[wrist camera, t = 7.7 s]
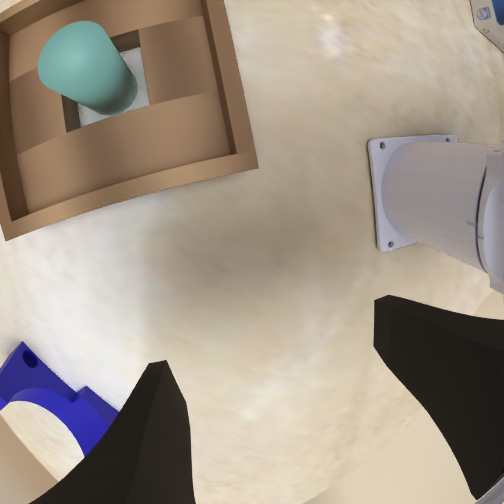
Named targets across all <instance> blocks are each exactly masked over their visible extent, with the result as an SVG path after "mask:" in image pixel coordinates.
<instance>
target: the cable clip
mask: <svg viewBox="0 0 504 504" xmlns="http://www.w3.org/2000/svg"><path fill="white" fill-rule="evenodd" d="M13 401H28V402H32V403H35V404H37V405H40V406H42V407H44V408H45V409H47V410H49V411H50V412H51V413H53V414H54V415H55V416H57V417H58V418H59V419H60V420H61V421H62V422H63V423H64V424H65V425H66V426H67V427H68V429H69V430H70V431H71V432H72V434H73V435H74V437H75V438H76V440H77V442H78V443H79V445H80V447H81V449H82V451H83V454H84V457H86V455H87V454H88V453H89V452H90V451H91V450H92V449H93V447H94V446H95V445H96V444H97V443H98V441H99V440H100V439H101V438H102V436H103V435H104V434H105V432H106V431H107V430H108V428H109V427H110V425H111V424H112V422H113V421H114V419H115V418H116V416H117V415H118V414H119V412H118V411H117V410H116V409H114V408H113V407H112V406H110V405H109V404H108V403H107V402H105V401H104V400H103V399H102V398H100V397H99V396H98V395H97V394H95V393H94V392H93V391H92V390H91V389H89V388H88V387H87V386H85V387H84V388H82V389H81V390H80V391H78V392H77V393H76V392H75V391H74V390H73V389H71V388H70V387H69V386H68V385H67V384H66V383H65V382H63V381H62V380H61V379H60V378H59V377H58V376H57V375H56V374H55V373H54V372H52V371H51V370H50V369H49V368H48V367H47V366H46V365H45V364H44V363H43V362H42V361H41V360H40V359H39V358H38V357H37V356H36V355H35V354H34V353H33V352H32V351H31V350H30V349H29V348H28V347H27V346H26V344H25V343H24V342H23V341H22V342H21V344H20V345H19V346H18V347H17V348H16V349H15V350H14V351H13V352H12V353H11V354H10V355H9V357H8V358H7V359H6V361H5V362H4V364H3V365H2V366H1V368H0V410H2V409H3V408H4V407H5V406H6V405H7V404H8V403H9V402H13Z"/></svg>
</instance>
